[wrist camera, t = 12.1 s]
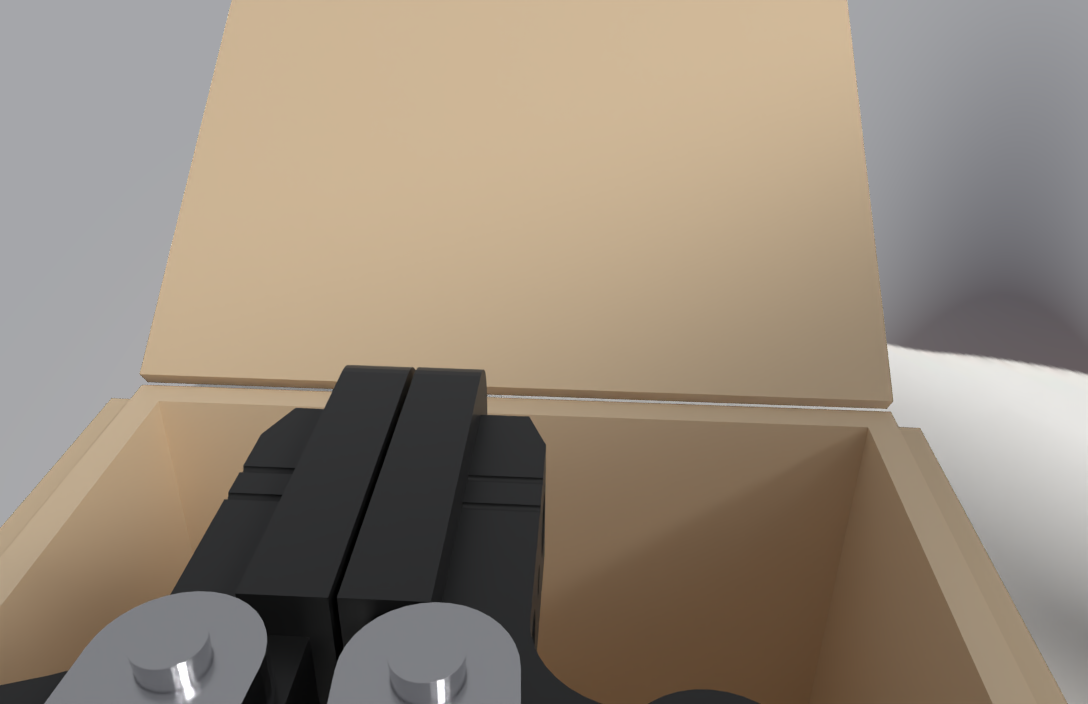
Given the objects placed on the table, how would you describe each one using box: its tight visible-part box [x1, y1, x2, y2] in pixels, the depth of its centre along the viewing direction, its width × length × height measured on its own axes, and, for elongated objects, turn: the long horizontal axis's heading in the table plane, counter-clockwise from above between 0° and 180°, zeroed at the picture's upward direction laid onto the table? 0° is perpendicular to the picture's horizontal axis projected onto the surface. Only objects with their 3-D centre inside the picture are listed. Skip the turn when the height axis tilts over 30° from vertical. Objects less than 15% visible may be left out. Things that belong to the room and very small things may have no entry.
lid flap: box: [140, 0, 893, 409], centre depth 25 cm, size 18×14×1 cm
